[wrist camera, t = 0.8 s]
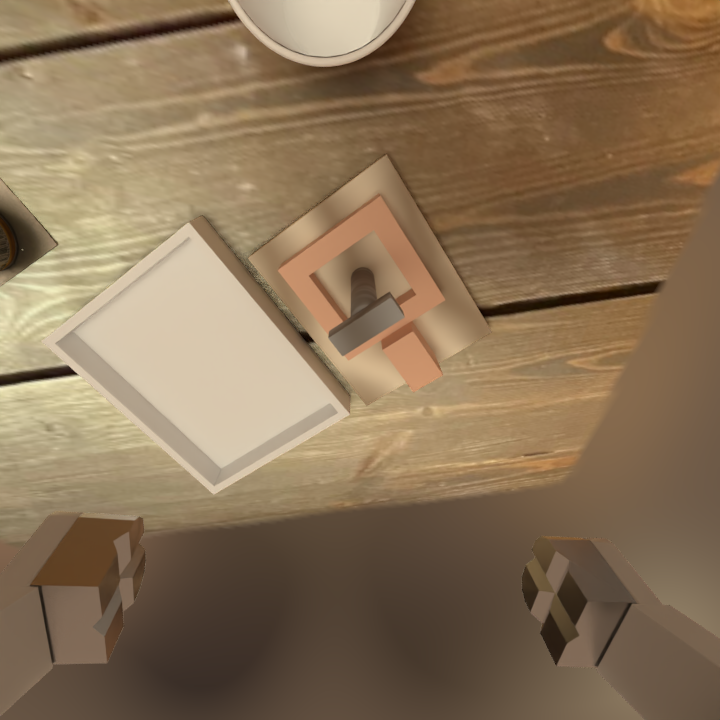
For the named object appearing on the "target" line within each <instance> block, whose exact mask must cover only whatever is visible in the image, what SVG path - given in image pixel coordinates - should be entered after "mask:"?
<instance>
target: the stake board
mask: <svg viewBox="0 0 720 720" xmlns="http://www.w3.org/2000/svg"><path fill="white" fill-rule="evenodd" d="M377 194H380V196H381V197H382V199H383V200H384V202H385V204H386V205H387V207H388V208H389V210H390V212H391V213H392V215H393V216H394V218H395V220H396V221H397V223H398V224H399V226H400V228H401V229H402V231H403V232H404V234H405V236H406V237H407V239H408V240H409V242H410V244H411V245H412V247H413V248H414V250H415V252H416V253H417V255H418V256H419V258H420V260H421V261H422V263H423V264H424V266H425V268H426V269H427V271H428V272H429V274H430V276H431V277H432V279H433V280H434V282H435V284H436V285H437V287H438V288H439V290H440V292H441V293H442V295H443V297H444V298H445V301H443V302H442V303H440V304H438V305H437V306H435V307H434V308H432V309H430V310H429V311H427V312H426V313H424V314H422V315H421V316H419V317H418V318H416V319H414V320H413V323H414V324H415V326H416V327H417V329H418V330H419V332H420V333H421V335H422V336H423V338H424V339H425V340H426V342H427V343H428V345H429V346H430V348H431V349H432V351H433V352H434V354H435V356H436V358H437V361H438V363H440V362H442V361H444V360H446V359H447V358H449V357H451V356H452V355H454V354H456V353H458V352H459V351H461V350H463V349H464V348H466V347H468V346H469V345H471V344H473V343H475V342H476V341H478V340H480V339H481V338H483V337H485V336H487V335H488V334H490V333H492V331H491V329H490V328H489V326H488V324H487V323H486V321H485V319H484V318H483V316H482V314H481V313H480V311H479V309H478V308H477V306H476V304H475V302H474V301H473V299H472V297H471V296H470V294H469V292H468V291H467V289H466V287H465V286H464V284H463V282H462V281H461V279H460V277H459V276H458V274H457V272H456V271H455V269H454V267H453V266H452V264H451V262H450V260H449V259H448V257H447V255H446V254H445V252H444V250H443V249H442V247H441V245H440V244H439V242H438V240H437V239H436V237H435V235H434V234H433V232H432V230H431V229H430V227H429V225H428V223H427V222H426V220H425V218H424V217H423V215H422V213H421V212H420V210H419V208H418V207H417V205H416V203H415V202H414V200H413V198H412V197H411V195H410V193H409V192H408V190H407V188H406V186H405V185H404V183H403V181H402V180H401V178H400V176H399V175H398V173H397V171H396V170H395V168H394V166H393V165H392V163H391V161H390V160H389V158H388V156H387V155H386V154H385V155H383V156H382V157H381V158H379V159H378V160H377V161H375V162H374V163H373V164H371V165H370V166H369V167H367V168H366V169H365V170H363V171H362V172H361V173H359V174H358V175H357V176H355V177H354V178H353V179H351V180H350V181H349V182H347V183H346V184H345V185H343V186H342V187H341V188H339V189H338V190H337V191H335V192H334V193H333V194H331V195H330V196H329V197H327V198H326V199H324V200H323V201H322V202H320V203H319V204H318V205H316V206H315V207H314V208H312V209H311V210H310V211H308V212H307V213H306V214H304V215H303V216H302V217H300V218H299V219H298V220H296V221H295V222H294V223H292V224H291V225H290V226H288V227H287V228H286V229H284V230H283V231H282V232H280V233H279V234H278V235H276V236H275V237H274V238H272V239H271V240H270V241H268V242H267V243H266V244H264V245H263V246H262V247H260V248H259V249H258V250H256V251H255V252H254V253H252V254H251V255H250V256H249V257H248V259H249V261H250V262H251V263H252V264H253V266H254V267H255V268H256V269H257V270H258V272H259V273H260V274H261V275H262V277H263V278H264V279H265V280H266V282H267V283H268V284H269V285H270V287H271V288H272V289H273V290H274V291H275V293H276V294H277V295H278V296H279V298H280V299H281V300H282V301H283V303H284V304H285V305H286V306H287V308H288V309H289V310H290V311H291V313H292V314H293V315H294V316H295V317H296V319H297V320H298V321H299V322H300V324H301V325H302V326H303V327H304V329H305V330H306V331H307V332H308V334H309V335H310V336H311V337H312V339H313V340H314V341H315V342H316V343H317V345H318V346H319V347H320V348H321V350H322V351H323V352H324V353H325V355H326V356H327V357H328V358H329V360H330V361H331V362H332V363H333V365H334V366H335V367H336V368H337V369H338V371H339V372H340V373H341V374H342V376H343V377H344V378H345V379H346V381H347V382H348V383H349V384H350V386H351V387H352V388H353V389H354V391H355V392H356V393H357V394H358V395H359V397H360V398H361V399H362V400H363V402H364V403H365V404H366V405H369V404H371V403H372V402H374V401H376V400H377V399H379V398H381V397H383V396H384V395H386V394H388V393H389V392H391V391H393V390H394V389H396V388H398V387H400V386H401V385H403V384H405V383H406V381H405V380H404V379H403V377H402V376H401V375H400V373H399V372H398V371H397V369H396V368H395V366H394V365H393V364H392V362H391V361H390V360H389V358H388V357H387V356H386V354H385V353H384V352H383V350H382V344H381V341H379V342H378V343H376V344H374V345H373V346H371V347H370V348H368V349H366V350H365V351H363V352H362V353H360V354H358V355H357V356H355V357H354V358H352V359H350V360H349V361H348V359H347V358H346V357H345V356H344V355H346V354H348V353H349V352H351V351H352V350H354V349H355V348H357V347H359V346H360V345H362V344H363V343H365V342H367V341H368V340H370V339H371V338H373V337H375V336H376V335H378V334H379V333H381V332H382V331H384V330H386V329H387V328H389V327H390V326H392V325H394V324H395V323H397V322H398V321H400V320H401V319H403V318H405V316H404V313H403V310H402V309H401V307H400V306H399V304H398V303H397V302H396V300H395V299H397V298H398V297H400V296H401V295H403V294H404V293H406V292H407V291H409V290H410V289H412V288H411V286H410V285H409V283H408V282H407V280H406V278H405V277H404V275H403V274H402V272H401V271H400V269H399V268H398V266H397V265H396V263H395V262H394V260H393V259H392V257H391V256H390V254H389V252H388V251H387V249H386V248H385V246H384V245H383V243H382V242H381V240H380V239H379V237H378V236H377V234H376V233H375V231H374V230H373V231H372V232H370V233H369V234H367V235H366V236H365V237H363V238H362V239H360V240H359V241H358V242H356V243H355V244H353V245H352V246H350V247H349V248H348V249H346V250H345V251H343V252H342V253H340V254H339V255H338V256H336V257H335V258H333V259H332V260H330V261H329V262H328V263H326V264H325V265H323V266H322V267H321V268H319V269H318V270H316V271H315V272H313V273H314V274H315V276H316V277H317V278H318V280H319V281H320V282H321V284H322V285H323V286H324V288H325V289H326V290H327V292H328V293H329V294H330V296H331V297H332V298H333V300H334V301H335V302H336V304H337V305H338V306H339V308H340V309H341V310H342V312H343V313H344V314H345V316H346V317H347V318H348V319H347V320H345V321H344V322H342V323H341V324H339V325H338V326H336V327H334V328H333V329H331V330H330V331H329V335H328V334H327V333H326V332H325V330H324V329H323V328H322V326H321V325H320V324H319V323H318V321H317V320H316V319H315V318H314V316H313V315H312V314H311V312H310V311H309V310H308V309H307V307H306V306H305V305H304V304H303V302H302V301H301V300H300V298H299V297H298V296H297V295H296V293H295V292H294V291H293V290H292V288H291V287H290V286H289V284H288V283H287V282H286V281H285V279H284V278H283V277H282V276H281V274H280V273H279V272H278V269H279V267H280V265H281V264H282V263H283V262H285V261H286V260H288V259H289V258H290V257H292V256H293V255H294V254H296V253H297V252H299V251H300V250H301V249H303V248H304V247H306V246H307V245H308V244H310V243H311V242H312V241H314V240H315V239H317V238H318V237H319V236H321V235H322V234H323V233H325V232H326V231H328V230H329V229H330V228H332V227H333V226H334V225H336V224H337V223H339V222H340V221H341V220H343V219H344V218H346V217H347V216H348V215H350V214H351V213H352V212H354V211H355V210H357V209H358V208H359V207H361V206H362V205H363V204H365V203H366V202H368V201H369V200H370V199H372V198H373V197H374V196H376V195H377Z"/></svg>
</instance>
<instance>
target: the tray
mask: <svg viewBox="0 0 720 720" xmlns="http://www.w3.org/2000/svg"><path fill="white" fill-rule="evenodd" d="M41 342H43V343H44V344H45V345H46V346H47V347H48V348H49V349H50V350H52V351H53V352H54V353H55V354H56V355H57V356H58V357H59V358H61V359H62V360H63V361H64V362H65V363H66V364H67V365H68V366H70V367H71V368H72V369H73V370H74V371H75V372H76V373H77V374H79V375H80V376H81V377H82V378H83V379H84V380H85V381H86V382H88V383H89V384H90V385H91V386H92V387H93V388H94V389H96V390H97V391H98V392H99V393H100V394H101V395H102V396H103V397H105V398H106V399H107V400H108V401H109V402H110V403H111V404H112V405H114V406H115V407H116V408H117V409H118V410H119V411H120V412H121V413H123V414H124V415H125V416H126V417H127V418H128V419H129V420H130V421H132V422H133V423H134V424H135V425H136V426H137V427H138V428H139V429H141V430H142V431H143V432H144V433H145V434H146V435H147V436H148V437H150V438H151V439H152V440H153V441H154V442H155V443H156V444H158V445H159V446H160V447H161V448H162V449H163V450H164V451H165V452H167V453H168V454H169V455H170V456H171V457H172V458H173V459H174V460H176V461H177V462H178V463H179V464H180V465H181V466H182V467H183V468H185V469H186V470H187V471H188V472H189V473H190V474H191V475H192V476H194V477H195V478H196V479H197V480H198V481H199V482H200V483H201V484H203V485H204V486H205V487H206V488H207V489H208V490H209V491H210V492H212V493H213V494H215V493H217V492H219V491H221V490H222V489H224V488H226V487H227V486H229V485H231V484H232V483H234V482H236V481H238V480H239V479H241V478H243V477H244V476H246V475H248V474H249V473H251V472H253V471H255V470H256V469H258V468H260V467H261V466H263V465H265V464H267V463H268V462H270V461H272V460H273V459H275V458H277V457H278V456H280V455H282V454H284V453H285V452H287V451H289V450H290V449H292V448H294V447H295V446H297V445H299V444H301V443H302V442H304V441H306V440H307V439H309V438H311V437H312V436H314V435H316V434H318V433H319V432H321V431H323V430H324V429H326V428H328V427H330V426H331V425H333V424H335V423H336V422H338V421H340V420H341V419H343V418H345V417H347V416H348V415H350V395H349V393H348V392H347V391H346V390H345V388H344V387H343V386H342V385H341V384H340V382H339V381H338V380H337V379H336V377H335V376H334V375H333V374H332V373H331V371H330V370H329V369H328V368H327V366H326V365H325V364H324V363H323V362H322V360H321V359H320V358H319V357H318V355H317V354H316V353H315V352H314V351H313V349H312V348H311V347H310V346H309V344H308V343H307V342H306V341H305V340H304V338H303V337H302V336H301V335H300V333H299V332H298V331H297V330H296V329H295V327H294V326H293V325H292V324H291V322H290V321H289V320H288V319H287V318H286V316H285V315H284V314H283V313H282V311H281V310H280V309H279V308H278V307H277V305H276V304H275V303H274V302H273V300H272V299H271V298H270V297H269V296H268V294H267V293H266V292H265V291H264V289H263V288H262V287H261V286H260V285H259V283H258V282H257V281H256V280H255V278H254V277H253V276H252V275H251V274H250V272H249V271H248V270H247V269H246V267H245V266H244V265H243V264H242V263H241V261H240V260H239V259H238V258H237V256H236V255H235V254H234V253H233V252H232V250H231V249H230V248H229V247H228V245H227V244H226V243H225V242H224V241H223V239H222V238H221V237H220V236H219V234H218V233H217V232H216V231H215V230H214V228H213V227H212V226H211V225H210V223H209V222H208V221H207V220H206V219H205V217H204V216H203V215H202V216H200V217H198V218H196V219H194V220H192V221H190V222H188V223H187V224H186V225H184V226H183V227H182V228H181V229H179V230H178V231H177V232H176V233H175V234H173V235H172V236H171V237H170V238H168V239H167V240H166V241H165V242H163V243H162V244H161V245H160V246H158V247H157V248H156V249H155V250H154V251H152V252H151V253H150V254H149V255H147V256H146V257H145V258H144V259H142V260H141V261H140V262H139V263H137V264H136V265H135V266H134V267H133V268H131V269H130V270H129V271H128V272H126V273H125V274H124V275H123V276H121V277H120V278H119V279H118V280H116V281H115V282H114V283H113V284H112V285H110V286H109V287H108V288H107V289H105V290H104V291H103V292H102V293H100V294H99V295H98V296H97V297H95V298H94V299H93V300H92V301H91V302H89V303H88V304H87V305H86V306H84V307H83V308H82V309H81V310H79V311H78V312H77V313H76V314H75V315H73V316H72V317H71V318H70V319H68V320H67V321H66V322H65V323H63V324H62V325H61V326H60V327H58V328H57V329H56V330H55V331H54V332H52V333H51V334H50V335H49V336H47V337H46V338H45V339H44V340H42V341H41Z"/></svg>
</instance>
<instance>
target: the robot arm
mask: <svg viewBox="0 0 720 720" xmlns="http://www.w3.org/2000/svg"><path fill="white" fill-rule="evenodd" d="M143 534H144V522H143V518H141V517H140V516H128V515H115V514H101V513H88V512H85V513H79V512H67V511H55V512H54V513H52V514H50V515H49V516H48V517H47V518H46V519H45V520H44V521H43V523H42V524H41V525H40V526H39V527H38V529H37V530H36V531H35V532H34V534H33V535H32V536H31V537H30V539H29V540H28V541H27V542H26V543H25V545H24V546H23V547H22V548H21V550H20V551H19V552H18V553H17V555H16V556H15V557H14V558H13V559H12V561H11V562H10V564H9V565H8V566H7V567H6V568H5V569H4V571H3V572H2V573H1V574H0V716H1V715H2V714H3V713H4V712H5V711H6V710H8V708H10V707H11V706H12V705H13V704H14V703H15V702H16V701H17V700H18V699H19V698H21V697H22V696H23V695H24V694H25V693H26V692H27V691H28V690H29V689H30V688H31V687H32V686H33V685H35V684H36V683H37V682H38V681H39V680H40V679H41V678H42V677H43V676H44V675H45V674H47V673H48V672H49V671H50V670H51V669H52V668H53V665H52V664H90V663H107V662H108V660H109V658H110V656H111V654H112V651H113V649H114V647H115V645H116V642H117V640H118V638H119V635H120V633H121V631H122V629H123V627H124V621H123V611H124V610H125V609H127V608H128V607H129V606H130V605H132V604H133V603H134V601H135V599H136V597H137V594H138V592H139V590H140V587H141V583H142V579H143V576H144V572H145V563H146V551H145V549H144V548H143V547H142V546H141V545H140V543H139V542H140V540H141V538H142V536H143ZM532 551H533V553H534V556H535V558H534V559H533V560H531V561H530V562H529V563H528V564H527V565H525V568H524V572H523V574H522V592H523V596H524V600H525V603H526V605H527V607H528V609H529V611H530V613H531V614H532V615H533V616H535V617H536V618H537V619H538V620H539V621H540V622H542V626H541V631H540V634H541V636H542V638H543V640H544V642H545V644H546V646H547V648H548V651H549V652H550V655H551V657H552V659H553V661H554V663H555V665H556V666H560V667H584V668H597V669H596V670H597V672H598V673H599V674H600V675H601V676H602V677H603V678H604V679H605V680H606V681H607V682H608V683H609V684H610V685H611V686H612V687H613V688H614V689H615V690H616V691H617V692H618V693H619V694H620V695H621V696H622V697H623V698H624V699H625V700H626V701H627V702H628V703H629V704H630V705H631V706H632V707H633V708H634V709H635V711H637V712H638V714H640V716H642V718H643V719H644V720H720V638H718V637H717V636H715V635H714V634H712V633H711V632H709V631H708V630H706V629H705V628H703V627H702V626H700V625H699V624H697V623H696V622H694V621H693V620H691V619H690V618H688V617H687V616H685V615H684V614H682V613H681V612H679V611H678V610H676V609H675V608H673V607H672V606H670V605H663V604H662V603H661V602H660V601H659V599H658V598H657V597H656V596H655V594H654V593H653V592H652V591H651V589H650V588H649V587H648V586H647V584H646V583H645V582H644V581H643V579H642V578H641V577H640V576H639V575H638V573H637V572H636V571H635V570H634V568H633V567H632V566H631V565H630V563H629V562H628V561H627V560H626V558H625V557H624V556H623V555H622V553H621V552H620V551H619V550H618V548H617V547H616V546H615V545H614V544H613V543H612V542H610V541H609V540H607V539H604V538H573V537H546V536H540V537H539V538H538V539H537V540H536V541H535V543H534V545H533V548H532Z"/></svg>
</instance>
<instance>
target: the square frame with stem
mask: <svg viewBox="0 0 720 720" xmlns="http://www.w3.org/2000/svg"><path fill="white" fill-rule="evenodd" d="M373 230H374V231H375V233H376V234H377V236H378V237H379V239H380V240H381V242H382V243H383V245H384V246H385V248H386V249H387V251H388V252H389V254H390V256H391V257H392V259H393V260H394V262H395V263H396V265H397V266H398V268H399V269H400V271H401V272H402V274H403V275H404V277H405V278H406V280H407V282H408V283H409V285H410V286H411V288H412V289H410V290H409V291H407V292H406V293H404V294H403V295H401V296H400V297H398V298H397V299H395V300H396V302H397V303H398V304H399V306H400V307H401V309H402V310H403V313H404V316H405V318H403V319H401V320H400V321H398V322H397V323H395V324H394V325H392V326H390V327H389V328H387V329H386V330H384V331H382V332H381V333H379V334H378V335H376V336H375V337H373V338H371V339H370V340H368V341H367V342H365V343H363V344H362V345H360V346H359V347H357V348H355V349H354V350H352V351H351V352H349V353H348V354H346V355H344V356H345V357H346V358H347V359H348V361H349V360H350V359H352V358H354V357H355V356H357V355H358V354H360V353H362V352H363V351H365V350H366V349H368V348H370V347H371V346H373V345H374V344H376V343H378V342H379V341H381V344H382V350H383V352H384V353H385V354H386V356H387V357H388V358H389V360H390V361H391V362H392V364H393V365H394V366H395V368H396V369H397V371H398V372H399V373H400V375H401V376H402V377H403V379H404V380H405V381H406V383H407V384H408V385H409V387H410V388H411V390H412V391H413V392H415V391H416V390H418V389H420V388H422V387H423V386H425V385H427V384H428V383H430V382H432V381H434V380H435V379H437V378H439V377H441V376H442V375H443V374H442V371H441V368H440V366H439V363H438V361H437V358H436V356H435V354H434V352H433V351H432V349H431V348H430V346H429V345H428V343H427V342H426V340H425V339H424V338H423V336H422V335H421V333H420V332H419V330H418V329H417V327H416V326H415V324H414V323H413V320H414V319H416V318H418V317H419V316H421V315H422V314H424V313H426V312H427V311H429V310H430V309H432V308H434V307H435V306H437V305H438V304H440V303H442V302H443V301H445V298H444V297H443V295H442V293H441V292H440V290H439V288H438V287H437V285H436V284H435V282H434V280H433V279H432V277H431V276H430V274H429V272H428V271H427V269H426V268H425V266H424V264H423V263H422V261H421V260H420V258H419V256H418V255H417V253H416V252H415V250H414V248H413V247H412V245H411V244H410V242H409V240H408V239H407V237H406V236H405V234H404V232H403V231H402V229H401V228H400V226H399V224H398V223H397V221H396V220H395V218H394V216H393V215H392V213H391V212H390V210H389V208H388V207H387V205H386V204H385V202H384V200H383V199H382V197H381V196H380V194H377V195H376V196H374V197H373V198H372V199H370V200H369V201H368V202H366V203H365V204H363V205H362V206H361V207H359V208H358V209H357V210H355V211H354V212H352V213H351V214H350V215H348V216H347V217H346V218H344V219H343V220H341V221H340V222H339V223H337V224H336V225H334V226H333V227H332V228H330V229H329V230H328V231H326V232H325V233H323V234H322V235H321V236H319V237H318V238H317V239H315V240H314V241H312V242H311V243H310V244H308V245H307V246H306V247H304V248H303V249H301V250H300V251H299V252H297V253H296V254H294V255H293V256H292V257H290V258H289V259H288V260H286V261H285V262H283V263H282V264H281V265H280V267H279V269H278V272H279V273H280V274H281V276H282V277H283V278H284V279H285V281H286V282H287V283H288V284H289V286H290V287H291V288H292V290H293V291H294V292H295V293H296V295H297V296H298V297H299V298H300V300H301V301H302V302H303V304H304V305H305V306H306V307H307V309H308V310H309V311H310V312H311V314H312V315H313V316H314V318H315V319H316V320H317V321H318V323H319V324H320V325H321V326H322V328H323V329H324V330H325V332H326V333H327V334H328V335H329V331H330V330H331V329H333V328H334V327H336V326H338V325H339V324H341V323H342V322H344V321H345V320H347V319H348V318H347V317H346V316H345V314H344V313H343V312H342V310H341V309H340V308H339V306H338V305H337V304H336V302H335V301H334V300H333V298H332V297H331V296H330V294H329V293H328V292H327V290H326V289H325V288H324V286H323V285H322V284H321V282H320V281H319V280H318V278H317V277H316V276H315V274H314V273H313V272H315V271H316V270H318V269H319V268H321V267H322V266H323V265H325V264H326V263H328V262H329V261H330V260H332V259H333V258H335V257H336V256H338V255H339V254H340V253H342V252H343V251H345V250H346V249H348V248H349V247H350V246H352V245H353V244H355V243H356V242H358V241H359V240H360V239H362V238H363V237H365V236H366V235H367V234H369V233H370V232H372V231H373Z"/></svg>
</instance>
